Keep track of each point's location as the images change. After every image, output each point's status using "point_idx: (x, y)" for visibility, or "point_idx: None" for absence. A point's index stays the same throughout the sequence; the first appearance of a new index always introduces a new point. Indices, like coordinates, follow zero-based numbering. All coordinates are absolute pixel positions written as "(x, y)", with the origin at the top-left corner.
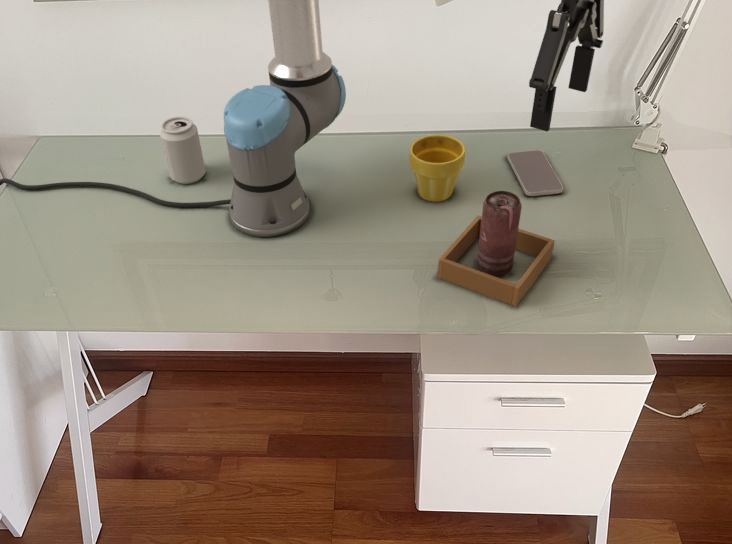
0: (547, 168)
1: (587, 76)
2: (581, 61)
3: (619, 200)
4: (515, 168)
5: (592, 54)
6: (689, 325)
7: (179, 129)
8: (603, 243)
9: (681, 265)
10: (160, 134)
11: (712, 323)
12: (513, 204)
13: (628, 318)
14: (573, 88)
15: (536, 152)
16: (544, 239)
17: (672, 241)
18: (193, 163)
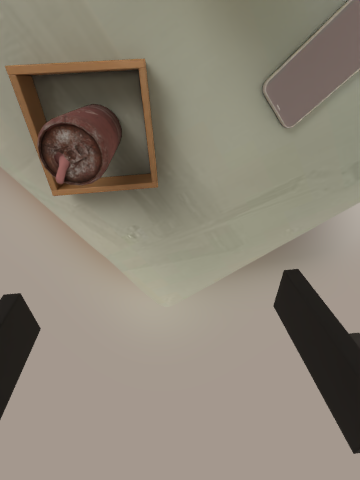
0: (335, 81)
1: (296, 346)
2: (331, 376)
3: (291, 190)
4: (325, 27)
5: (345, 433)
6: (147, 293)
7: None
8: (210, 208)
9: (212, 267)
10: None
11: (159, 301)
12: (80, 174)
13: (125, 263)
14: (281, 284)
15: None
16: (151, 176)
17: (241, 251)
18: None
